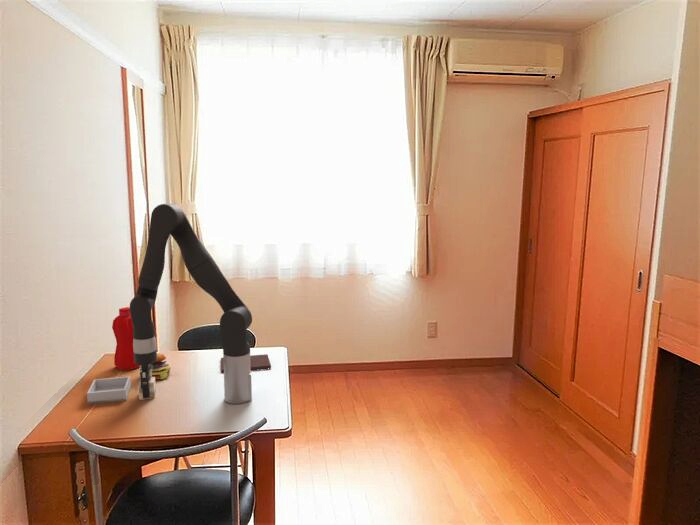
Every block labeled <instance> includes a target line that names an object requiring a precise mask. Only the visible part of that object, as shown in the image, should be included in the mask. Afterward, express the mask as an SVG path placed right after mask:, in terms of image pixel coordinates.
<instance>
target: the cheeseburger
mask: <svg viewBox="0 0 700 525" xmlns="http://www.w3.org/2000/svg"><path fill="white" fill-rule="evenodd" d="M166 359H167V357H166V356H165V354H163V353H157V361H156V362H155V363H153V364H152V365H153V374H152V377H155V380H165V379H167V377H168V376H169V374H170V372H171V367H172V366H170V364H168V363H167V360H166Z"/></svg>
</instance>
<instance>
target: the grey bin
mask: <svg viewBox="0 0 700 525" xmlns="http://www.w3.org/2000/svg"><path fill="white" fill-rule="evenodd" d="M131 387H132V384H131V376H120V377H118V376H117V377H108V378H97V379H96V378H95V379H94V380H93V381H92V384H91V385H90V387H89V388H88V391H87V392H86V398H87V405H92V404H93V405H95V404H104V403H114V402H125V401H127V398H128V397H129V395H130V394H129V393H130V391H131Z"/></svg>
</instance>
